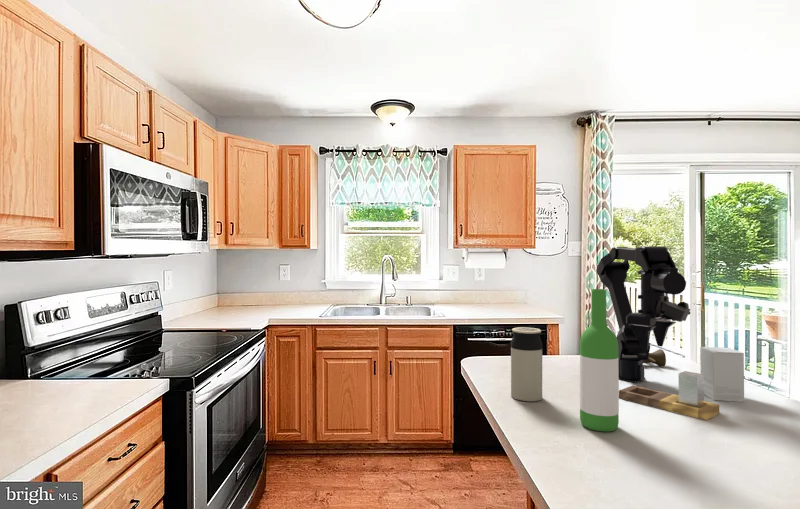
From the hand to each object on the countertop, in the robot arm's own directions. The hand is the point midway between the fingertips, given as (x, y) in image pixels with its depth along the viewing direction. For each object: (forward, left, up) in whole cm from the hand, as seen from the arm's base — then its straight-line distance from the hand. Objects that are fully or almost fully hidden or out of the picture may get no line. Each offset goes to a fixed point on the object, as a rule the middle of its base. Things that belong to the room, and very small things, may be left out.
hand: (652, 348), depth 121 cm
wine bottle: (+4, -36, -12) cm, 38 cm away
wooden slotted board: (+7, -9, -12) cm, 17 cm away
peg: (+12, -9, -12) cm, 20 cm away
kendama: (-17, +33, -12) cm, 39 cm away
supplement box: (+13, +10, -12) cm, 20 cm away
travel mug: (-18, -32, -12) cm, 39 cm away
